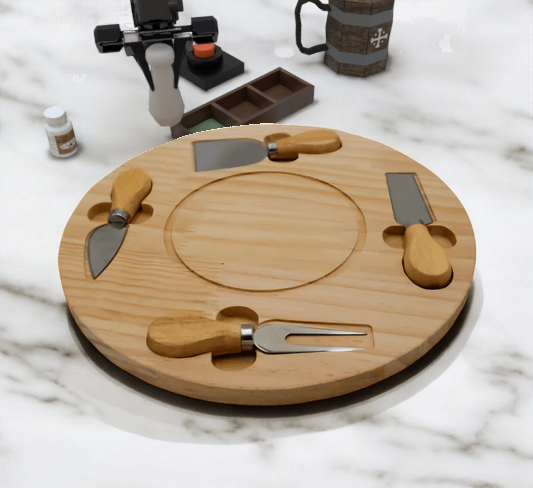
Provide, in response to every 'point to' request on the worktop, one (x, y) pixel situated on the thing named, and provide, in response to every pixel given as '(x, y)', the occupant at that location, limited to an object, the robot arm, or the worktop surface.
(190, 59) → the control block
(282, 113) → the brown compartment tray
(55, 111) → the pill bottle
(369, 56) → the mug
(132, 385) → the worktop surface
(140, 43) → the robot arm
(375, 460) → the worktop surface
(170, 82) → the salt shaker
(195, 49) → the button
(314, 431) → the worktop surface
